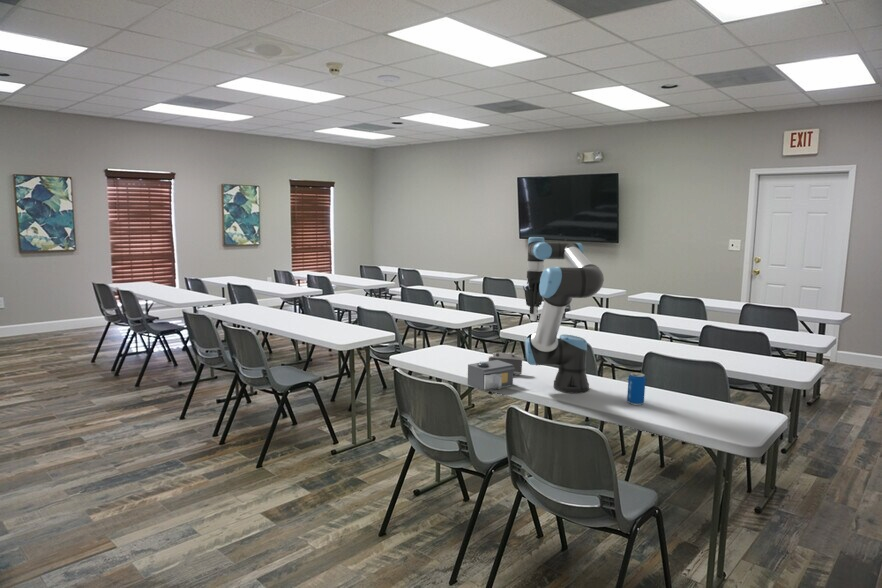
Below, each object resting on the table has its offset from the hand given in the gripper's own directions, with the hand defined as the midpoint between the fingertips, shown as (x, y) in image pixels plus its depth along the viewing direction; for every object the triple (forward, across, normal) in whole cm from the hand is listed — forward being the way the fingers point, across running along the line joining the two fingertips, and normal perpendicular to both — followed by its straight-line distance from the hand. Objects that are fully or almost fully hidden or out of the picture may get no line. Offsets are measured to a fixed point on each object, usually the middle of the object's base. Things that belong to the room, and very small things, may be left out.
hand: (533, 320), depth 264 cm
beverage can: (+27, -7, +53) cm, 60 cm away
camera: (+27, +8, -10) cm, 30 cm away
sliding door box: (+26, +26, +2) cm, 37 cm away
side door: (+26, +31, +9) cm, 42 cm away
